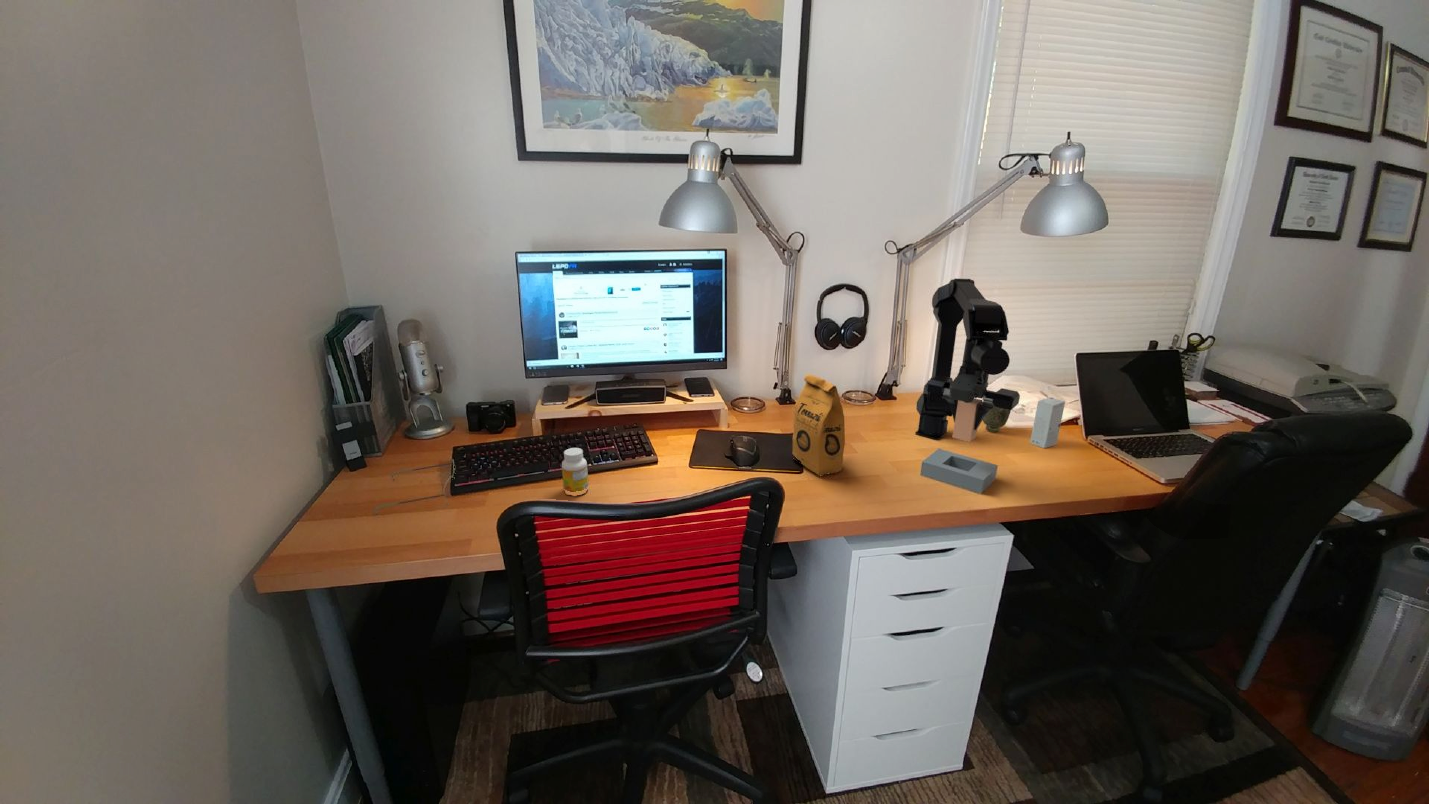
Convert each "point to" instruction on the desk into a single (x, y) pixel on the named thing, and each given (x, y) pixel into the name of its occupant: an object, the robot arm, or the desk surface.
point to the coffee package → (819, 427)
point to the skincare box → (1047, 422)
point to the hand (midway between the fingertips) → (965, 427)
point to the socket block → (959, 470)
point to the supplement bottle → (574, 470)
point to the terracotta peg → (966, 420)
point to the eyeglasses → (421, 498)
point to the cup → (996, 419)
